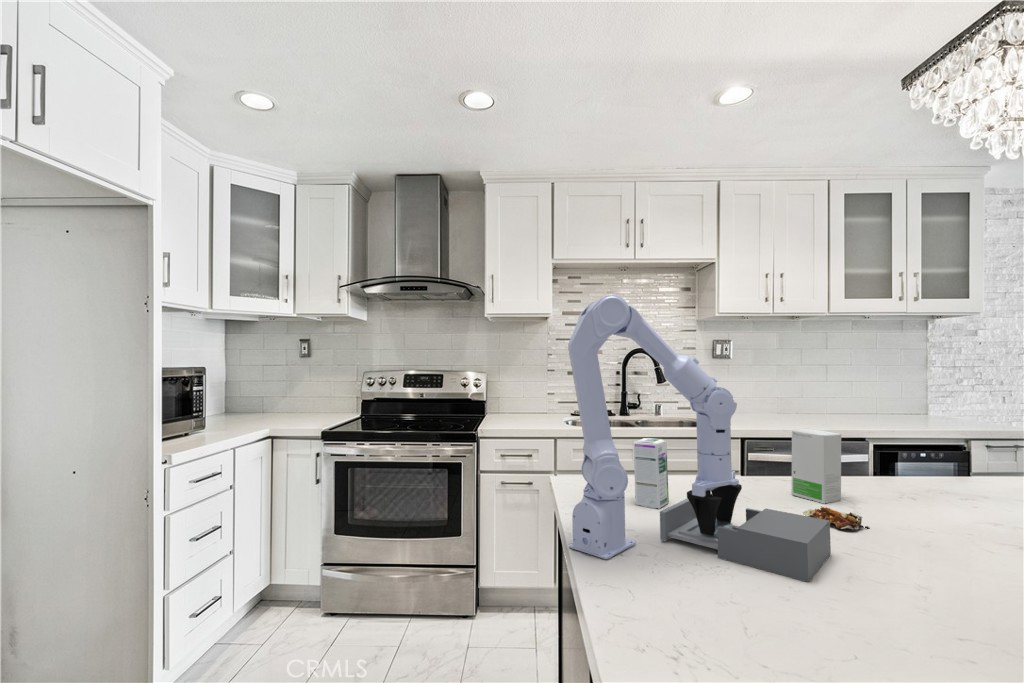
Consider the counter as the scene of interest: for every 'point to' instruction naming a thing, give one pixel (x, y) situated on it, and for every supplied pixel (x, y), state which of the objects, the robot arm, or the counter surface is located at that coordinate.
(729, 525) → the disc
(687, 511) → the tray
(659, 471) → the syrup box
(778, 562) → the housing
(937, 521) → the counter surface
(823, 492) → the skincare box
